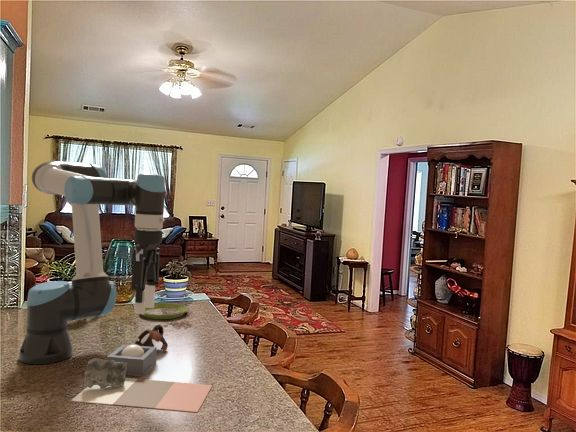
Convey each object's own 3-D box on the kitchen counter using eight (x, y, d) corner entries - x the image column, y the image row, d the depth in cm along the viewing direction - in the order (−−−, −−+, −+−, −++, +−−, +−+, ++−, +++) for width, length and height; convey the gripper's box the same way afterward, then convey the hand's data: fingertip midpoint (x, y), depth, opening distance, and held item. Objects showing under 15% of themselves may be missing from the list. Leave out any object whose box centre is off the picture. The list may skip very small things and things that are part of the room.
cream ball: (116, 370, 135) (117, 347, 135) (125, 362, 142) (126, 340, 142) (138, 372, 135) (139, 349, 134) (147, 364, 142) (148, 342, 141)
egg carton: (80, 387, 120) (83, 378, 118) (87, 363, 126) (90, 354, 124) (121, 392, 124) (124, 384, 122) (126, 369, 130) (129, 360, 128)
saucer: (179, 323, 188) (180, 316, 187) (130, 320, 188) (131, 313, 188) (191, 311, 208) (191, 304, 208) (147, 308, 208) (147, 301, 208)
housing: (106, 373, 133) (107, 356, 133) (122, 359, 144) (123, 344, 144) (142, 376, 133) (143, 359, 132) (155, 362, 144) (156, 347, 143)
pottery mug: (164, 359, 150) (147, 345, 146) (144, 365, 154) (127, 352, 150) (175, 330, 159) (160, 316, 155) (157, 337, 163) (141, 323, 159)
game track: (70, 401, 115) (70, 400, 115) (100, 376, 131) (100, 375, 131) (197, 412, 113) (197, 411, 113) (212, 385, 129) (212, 385, 129)
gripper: (148, 233, 116) (143, 321, 117) (173, 227, 135) (169, 303, 136) (120, 230, 116) (115, 318, 118) (149, 225, 135) (145, 301, 137)
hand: (144, 310), depth 127 cm, fingers open, 6 cm apart
